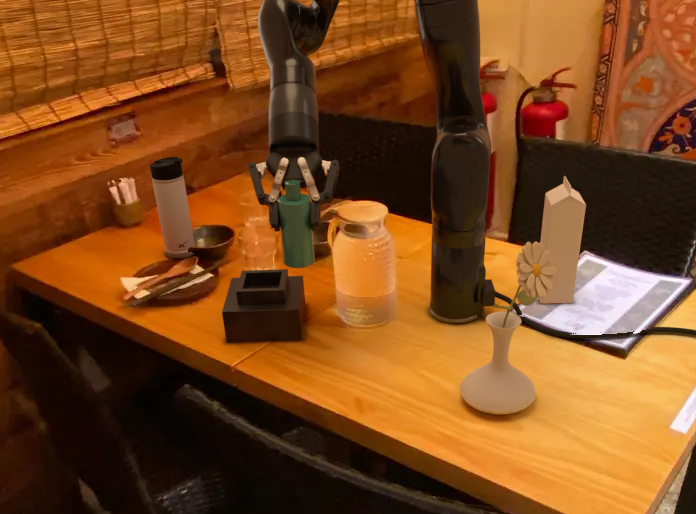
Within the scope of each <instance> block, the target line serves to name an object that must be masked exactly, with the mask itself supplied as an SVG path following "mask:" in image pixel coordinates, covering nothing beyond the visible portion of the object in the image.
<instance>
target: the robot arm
mask: <svg viewBox="0 0 696 514" xmlns="http://www.w3.org/2000/svg"><path fill="white" fill-rule="evenodd" d="M311 1H312V2H311V3H310V5H309V6H308V5H306V4H304V3H302V2H301V1H299V0H263V1H262V3H261V5H260V7H259V10H258V15H257V31H258V37H259V40H260V43H261V47H262V50H263V54H264V58H265V61H266V64H267V67H268V70H269V100H268V101H269V102H268V155H267V157H266V159H265V161H263V162H259V163H256V162H254V161H250V162H249V163H248V165H247V167H248V170H249V171H248V172H249V174H250V178H251V182H252V185H253V188H254V189H253V190H254V192H255V196H256V199H257V202H258V204H259V205H260V206H267V207H268V222H269V225H270V227H271V229H274V232H278V233H279V232H281V231H280V221H279V211H278V201H277V199H278V198H279V197H280V196H282V195H285V193H286V191H285V182H286V181H288V180H298V181H300V189H305V190H306V192H307V195H308V196H309V197H310V216H311V230H312V231H317V228H318V227H319V228H320V227H321V224H322V214H321V212H322V211H321V209H322V206H323V205H324V204H331V203H333V200H334V196H335V192H336V189H337V184H338V180H339V176H340V163H339V161H338V160H337V159H332V160H331V161H328V160H323V158H322V156H321V154H320V138H319V137H320V134H319V133H320V130H319V124H320V118H319V106H318V101H317V82H316V81H317V77H316V67H315V63H314V61H313V60H312V59H311V58H310V57H309V56H311V55H314V54H315V53H317V51H319V50H320V48H321V47H322V45H323V44H324V42H325V39H326V37H327V34H328V31H329V29H330V26H331V23H332V21H333V18H334V17H335V14H336V11H337V9H338V6H339V4H340V3H341V0H311ZM413 3H414V10H415V20H416V26H417V32H418V38H419V42H420V46H421V49H422V53H423V58H424V60H425V64H426V67H427V71H428V73H429V76H430V79H431V83H432V87H433V92H434V99H435V112H436V114H435V115H436V138H435V142H434V145H433V149H432V154H431V164H430V167H431V168H430V208H431V209H430V210H431V245H430V247H431V249H430V250H431V251H430V253H431V254H430V296H429V297H430V299H429V313H430V315H431V316H432V318H434V319H436V320H438V321H440V322H443V323H449V324H464V323H470V322H473V321H475V320H478V319H483V318H484V307H485V308H486V307H488V308H489V307H493V306H494V303H496V298H497V299H498V300H501V301H503V302H504V303H507V304H508V305H509V306H510V305H511V302H512V300H513V299H512V298H510V297H509V296H507V295H506V294H505V295H504V294H503V293H501V292H498V291H496V289H495V285H494V283H493V280H492V279H491V278H489V279H486V274H487V269H486V265H485V254H486V237H487V222H488V208H489V204H488V202H489V186H490V170H491V157H492V140H491V135H490V132H489V127H488V122H487V117H486V113H485V107H484V102H483V97H482V96H483V95H482V88H481V26H480V25H481V23H480V9H479V0H413ZM321 170H323V172H324V176H325V177H326V181H325V185H324V189H323V191H321V192H319V191H318V188H317V186H316V183H315V179H316V177H317V176H318V175H319V173H320V172H321ZM267 171H268V172H269V173H270V175H271V176H272V178H273V182H272V185H271V189H270V192H269V193H266V192H265V190H264V186H263V183H262V180H263V179H265V177H266V176H265V175H266V174H265V173H266V172H267ZM512 309H513V310H514V311H515V313H516V315H517V316H518V315H522V314H523V312H522V310H521V308H520V306H519V305H518V303H516V301H515V302H514V304H513V306H512ZM520 318H521V322H523V323H524V324H526V325H527V326H529V327H531V328H533V329H535V330H537V331H539V332H541V333H543V334H546V335H551V336H556V337H560V338H567V339H574V340H591V339H606V338H608V339H609V338H621V337H628V336H633V335H632V334H633V332H634V331H633V332H627V333H617V334H602V335H570V334H572V333H573V334H574V333H575V334H576V333H577V332H570V331H563V330H558V329H553V328H549V327H548V328H547V327H544V326H541V325H539V324H537V323H535V322H534V321H532V320H531V319H529V318H528V317H527V316H525V317H520ZM650 327H651V329H647V330H642V331H641V332H640V333H638V334H637V335H641V334H649V333H650V334H652V333H670V334H683V335H690V336H696V329H693V328H692V329H691V328H686V327H677V326H675V327H674V326H650ZM569 332H570V333H569ZM630 334H631V335H630Z"/></svg>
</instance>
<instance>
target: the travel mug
mask: <svg viewBox="0 0 696 514" xmlns="http://www.w3.org/2000/svg"><path fill="white" fill-rule="evenodd" d="M182 163H183V158H181V157H179V156H169V157H168V156H167V157H163V158H160V159H156V160H154V161H153V162H152V163H150V164H149V171H150V175H151V182H152V188H153V192H154V198H155V203H156V209H157V214H158V219H159V224H160V230H161V235H162V241H163V245H164V251H165V255H166V256H167V257H169V258H171V259H185V258H186V259H187V258H189V257H191V256H193V255H194V254H195V253H192V252H188V249H189V248H190V247H194V246H195V247H196V242H195V237H194V231H193V224H192V219H191V213H190V206H189V201H188V195H187V189H186V188H187V187H186V183H185V177H184V171H183V166H182Z"/></svg>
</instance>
